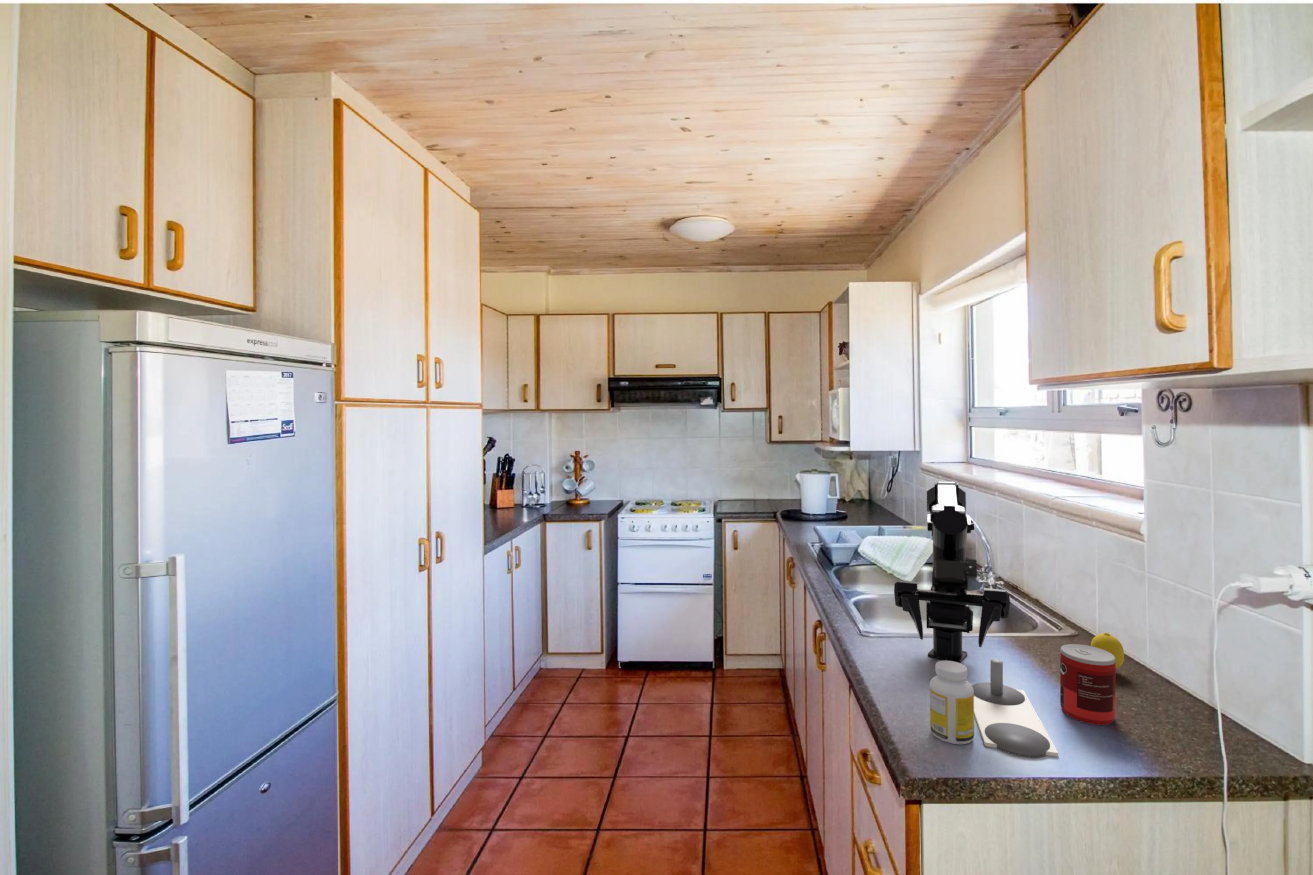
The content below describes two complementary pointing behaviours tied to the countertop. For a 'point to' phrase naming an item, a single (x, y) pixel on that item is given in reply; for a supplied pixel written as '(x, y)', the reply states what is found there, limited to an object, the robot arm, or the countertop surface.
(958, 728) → the pill bottle
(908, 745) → the countertop surface
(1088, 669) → the canned food
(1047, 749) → the board
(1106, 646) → the lemon
